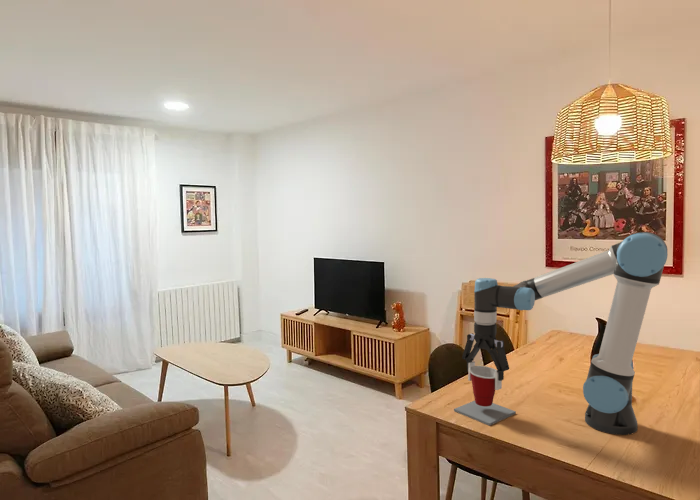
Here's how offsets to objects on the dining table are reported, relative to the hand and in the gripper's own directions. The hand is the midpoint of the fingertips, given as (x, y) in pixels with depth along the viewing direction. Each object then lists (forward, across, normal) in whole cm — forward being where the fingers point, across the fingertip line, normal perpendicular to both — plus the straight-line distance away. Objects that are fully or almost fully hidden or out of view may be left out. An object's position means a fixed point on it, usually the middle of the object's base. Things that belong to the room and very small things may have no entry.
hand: (484, 384), depth 163 cm
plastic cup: (+7, 0, 0) cm, 7 cm away
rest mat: (+10, 0, 0) cm, 10 cm away
